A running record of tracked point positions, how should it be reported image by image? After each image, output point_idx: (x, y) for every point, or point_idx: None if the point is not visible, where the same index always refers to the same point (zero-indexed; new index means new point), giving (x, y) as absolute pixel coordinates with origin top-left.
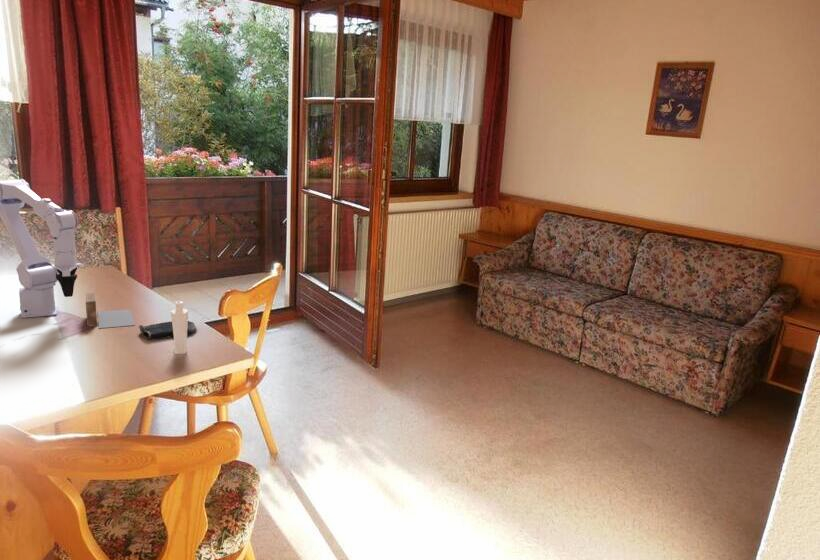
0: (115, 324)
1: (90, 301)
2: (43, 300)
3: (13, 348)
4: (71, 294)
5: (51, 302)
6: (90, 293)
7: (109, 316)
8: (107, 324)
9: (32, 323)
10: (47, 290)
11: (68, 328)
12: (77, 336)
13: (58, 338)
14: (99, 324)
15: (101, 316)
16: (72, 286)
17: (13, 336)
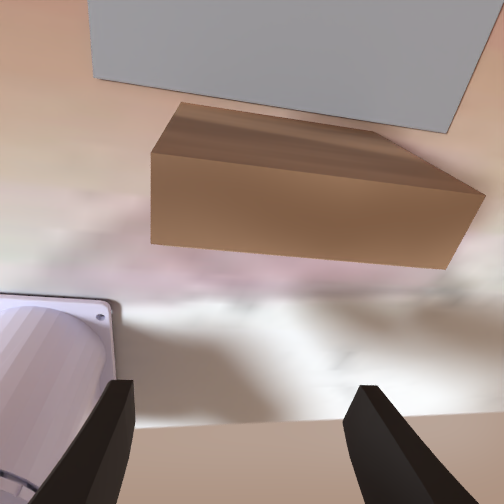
0: (455, 8)
1: (461, 238)
2: (76, 415)
3: (434, 403)
4: (386, 406)
5: (54, 367)
6: (166, 204)
7: (244, 8)
8: (417, 67)
9: (199, 371)
10: (30, 467)
11: (339, 266)
12: (475, 243)
13: (441, 305)
14: (384, 119)
15: (219, 72)
16: (464, 499)
17: (322, 407)
